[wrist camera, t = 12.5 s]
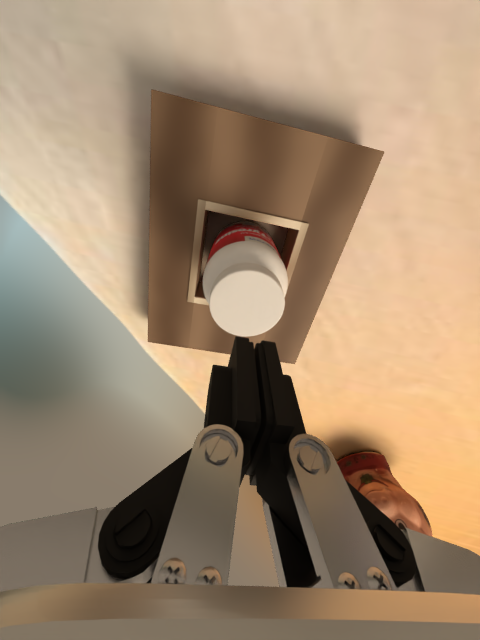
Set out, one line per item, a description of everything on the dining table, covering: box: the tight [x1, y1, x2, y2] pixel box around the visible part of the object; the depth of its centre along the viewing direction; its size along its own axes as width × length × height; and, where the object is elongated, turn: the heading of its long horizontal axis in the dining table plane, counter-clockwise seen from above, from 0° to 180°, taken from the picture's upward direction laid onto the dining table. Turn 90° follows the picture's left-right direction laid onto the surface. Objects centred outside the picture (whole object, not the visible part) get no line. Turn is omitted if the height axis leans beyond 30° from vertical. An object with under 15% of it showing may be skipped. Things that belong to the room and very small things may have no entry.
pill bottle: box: [203, 222, 288, 337], centre depth 20 cm, size 6×6×11 cm
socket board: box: [148, 89, 384, 364], centre depth 23 cm, size 16×20×4 cm
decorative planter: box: [337, 452, 432, 537], centre depth 40 cm, size 20×12×14 cm, turn 30°
